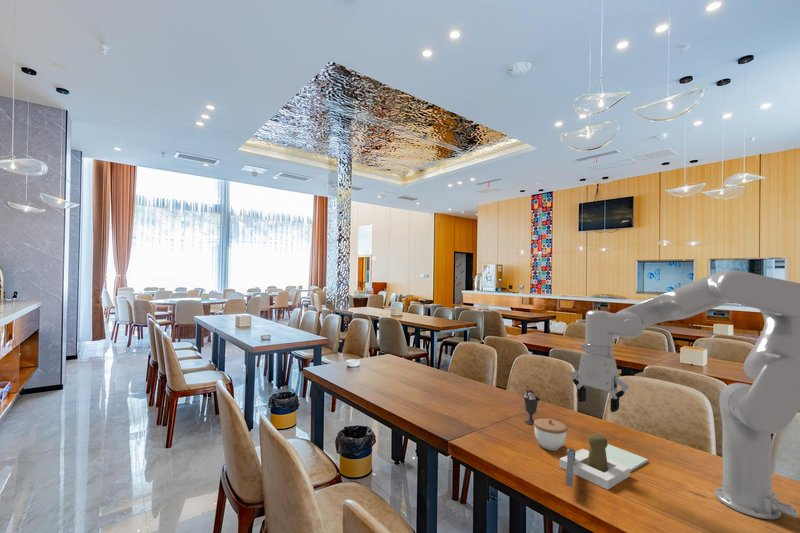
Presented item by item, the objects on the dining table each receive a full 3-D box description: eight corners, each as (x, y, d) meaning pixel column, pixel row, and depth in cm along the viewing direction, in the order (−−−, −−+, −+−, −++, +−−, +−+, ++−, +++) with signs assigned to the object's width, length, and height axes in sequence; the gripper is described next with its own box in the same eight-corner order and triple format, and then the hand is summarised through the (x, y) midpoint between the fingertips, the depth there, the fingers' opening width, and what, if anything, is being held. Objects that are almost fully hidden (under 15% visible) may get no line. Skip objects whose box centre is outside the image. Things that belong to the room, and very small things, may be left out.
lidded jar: (532, 449, 124) (532, 421, 124) (534, 437, 134) (535, 411, 134) (566, 456, 119) (567, 427, 120) (566, 443, 129) (566, 417, 130)
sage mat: (647, 461, 118) (647, 459, 118) (629, 472, 110) (629, 469, 110) (606, 445, 128) (606, 443, 128) (587, 454, 121) (587, 452, 121)
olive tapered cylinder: (612, 478, 106) (612, 441, 107) (589, 475, 108) (590, 438, 108) (604, 468, 112) (605, 432, 113) (583, 465, 114) (584, 430, 114)
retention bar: (574, 487, 96) (574, 478, 96) (564, 484, 97) (564, 475, 97) (575, 456, 113) (575, 449, 113) (566, 455, 114) (567, 447, 114)
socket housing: (629, 476, 108) (629, 467, 108) (607, 489, 100) (607, 480, 101) (582, 456, 120) (582, 447, 120) (559, 466, 112) (559, 458, 112)
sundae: (518, 420, 150) (519, 384, 151) (532, 418, 152) (532, 383, 153) (528, 426, 144) (529, 388, 144) (542, 424, 146) (543, 387, 146)
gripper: (565, 346, 117) (564, 399, 116) (622, 357, 102) (622, 417, 102) (577, 344, 121) (576, 396, 120) (634, 354, 107) (633, 413, 106)
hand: (597, 406), depth 111 cm, fingers open, 9 cm apart
